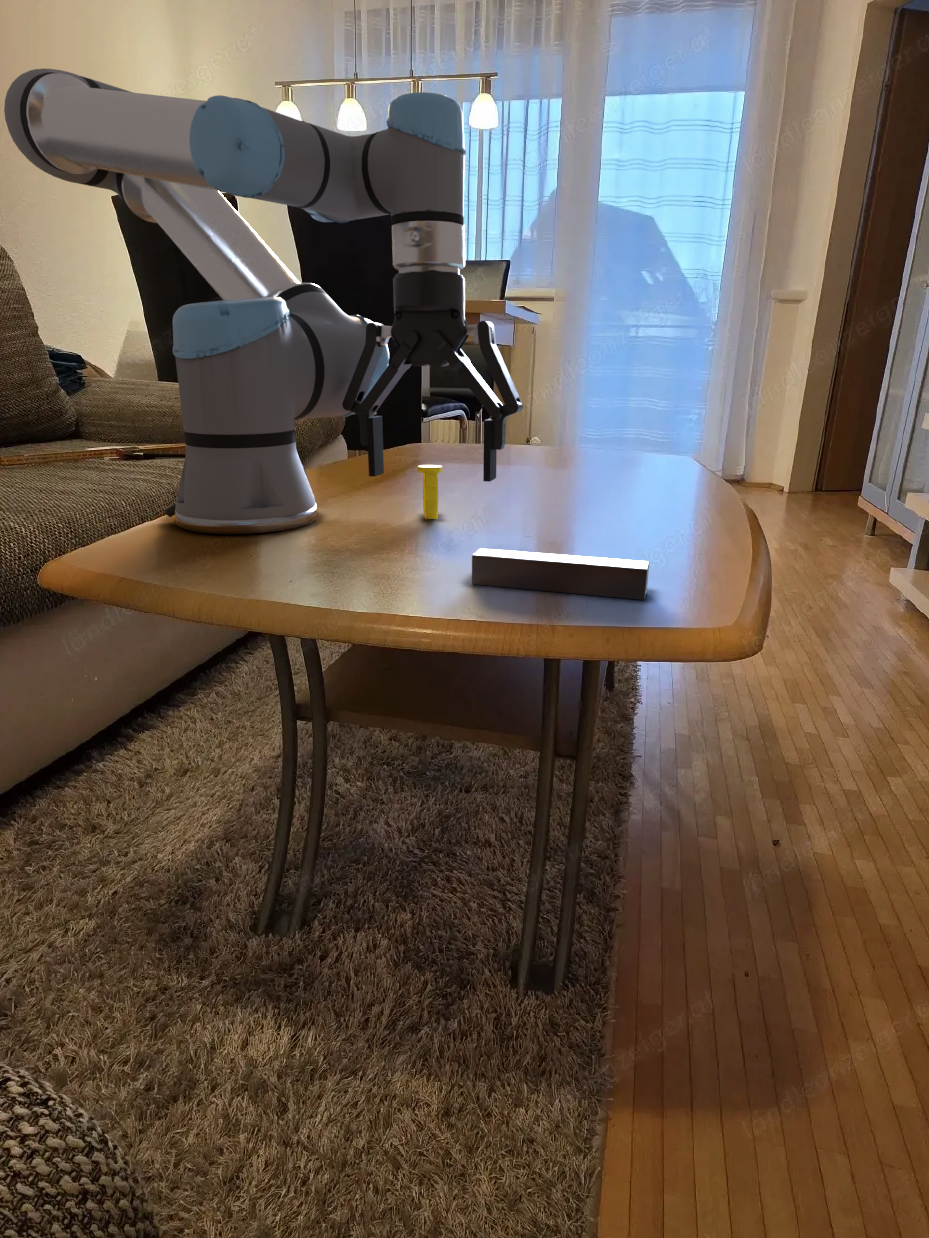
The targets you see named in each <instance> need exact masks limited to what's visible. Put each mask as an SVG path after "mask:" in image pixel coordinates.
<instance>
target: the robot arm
mask: <svg viewBox="0 0 929 1238" xmlns="http://www.w3.org/2000/svg"><path fill="white" fill-rule="evenodd" d="M3 105H4V106H3V107H4V108H3V111H4V119H5V124H6V127H7V130H8V133H9V135H10V137H11V139H12V142H13V143H14V144H15V146H16V147H17V149H18V151H20V152H21V154H22V155H23V156H24V157H25V158H26V159H27V160H28V161H29V162H30V163H31V164H32V165H34V166H35V167H36V168H37V169H39V170H41V171H43V172H44V173H46V174H48V175H50V176H52V177H55V178H56V179H59V180H62V181H65V182H69V183H73V184H78V185H83V186H89V187H93V188H98V189H105V190H110V191H111V192H114V193H115V194H116V195H118V196H119V198H121V200H122V201H123V202H124V204H125V205H126V206H127V207H128V208H129V210H130V211H132V213H133V214H134V215H136V216H137V217H138V218H140V219H142V220H144V221H146V222H149V223H153V224H158V225H159V227H160V228H161V229H162V230H163V231H164V233H165V234H166V235H167V236H168V237H169V238H170V239H171V241H172V242H173V243H174V244H175V245H176V246H177V248H178V249H179V250H180V251H181V253H182V254H183V255H184V256H185V257H186V258H187V259H188V261H189V262H190V263H191V264H192V265H193V267H194V268H195V269H196V270H197V271H198V273H199V274H200V275H201V276H202V277H203V278H204V279H205V281H206V282H207V283H208V284H209V285H210V287H211V288H212V289H213V290H214V291H215V293H216V294H218V296H219V297H220V298H221V299H222V300H212V301H203V302H195V303H194V302H193V303H189V304H184V305H181V306H180V307H178V308H177V310H175V312H174V313H173V316H172V338H173V339H172V341H173V345H172V355H173V356H174V358H175V365H176V366H175V367H176V375H177V384H178V392H179V393H178V394H179V400H180V402H179V403H180V410H181V418H182V429H183V434H184V435H183V436H184V443H185V457H184V461H183V467H182V471H181V475H180V480H179V481H180V482H179V485H178V490H177V495H176V496H177V497H176V499H175V503H174V504H172V505H171V506H170V507H168V508H166V509H165V510H164V513H165V514H166V516H167V517H168V518H172V517H174V516H175V522H176V525H177V526H178V527H179V528H181V529H183V530H187V531H190V532H196V533H205V534H217V535H246V534H261V533H271V532H278V531H284V530H289V529H295V528H299V527H303V526H306V525H308V524H311V523H312V522H314V521H316V519H317V517H318V514H317V503H316V497H315V495H314V492H313V490H312V488H311V485H310V482H309V480H308V479H309V477H308V474H307V471H306V468H305V466H304V465H303V464H302V461H301V459H300V457H299V454H298V450H297V442H296V441H297V440H296V429H295V428H296V423H295V421H297V420H306V419H307V420H309V419H321V418H335V417H336V418H337V417H338V418H346V417H347V418H348V417H349V416H352V415H357V417H358V420H359V440H360V443H361V446H365V447H367V461H368V477H373V478H374V477H378V476H381V475H383V474H385V464H384V459H385V457H384V433H383V431H384V430H383V415H377V414H378V412H377V411H378V410H379V408H380V407H381V405H383V402H384V401H385V400H386V398H387V397H388V396H389V395H390V393H391V392H392V391H393V390H394V388H395V387H396V385H397V384H398V382H399V381H400V380H401V378H402V377H403V375H404V374H405V373H406V372H407V370H410V368H411V367H412V366H413V367H429V366H431V367H447V366H450V367H451V368H452V369H453V371H455V372H456V373H457V374H458V375H459V377H460V378H461V379H462V381H463V383H465V385H466V386H467V387H468V389H469V390H470V391H471V393H472V395H474V396H475V398H476V399H477V401H478V402H479V403H480V405H482V407H483V408H484V409H485V410H486V411H487V413H488V414H489V416H490V417H489V418H488V419H487V418H486V419H484V420H483V473H482V474H483V476H482V477H483V481H482V482H488V483H489V482H490V483H491V482H492V481H493V480H495V479H497V455H498V454H497V451H501V450H503V449H505V446H506V437H507V436H506V435H507V434H506V433H507V432H506V431H507V430H506V429H507V419H508V417H509V416H512V415H515V414H517V413H520V412H522V411H523V409H524V404H523V401H522V399H521V397H520V394H519V393H518V390H517V388H516V386H515V383H514V381H513V379H512V377H511V375H510V372H509V370H508V368H507V365H506V363H505V361H504V358H503V356H502V354H501V352H500V350H499V347H498V345H497V340H496V332H495V331H496V330H495V325H494V323H493V322H492V321H487V320H480V321H479V322H478V323H473V324H468V323H467V321H466V316H465V315H466V312H465V311H466V281H465V280H466V279H465V277H464V276H463V274H461V273H460V271H462V270H463V269H464V268H465V267H466V246H465V245H466V243H465V241H466V238H465V216H464V214H465V213H464V211H465V209H464V208H465V206H464V205H465V172H466V171H465V168H466V155H467V150H466V149H465V148H466V147H465V132H464V130H465V129H464V113H463V109H462V108H461V106H460V104H459V102H457V101H456V100H455V99H453V98H452V97H449V96H447V95H444V94H442V93H441V94H440V93H435V92H426V91H425V92H420V91H418V92H409V93H404V94H401V95H398V96H397V97H396V98H394V99H393V100H392V101H390V102H389V105H388V108H387V110H388V111H387V120H386V127H387V128H386V129H383V130H379V131H376V132H373V133H367V134H361V135H355V136H354V135H353V136H351V135H345V134H343V133H340V132H337V131H334V130H332V129H328V128H325V127H322V126H320V125H317V124H314V123H310V122H307V121H304V120H300V119H296V118H294V117H292V116H288V115H285V114H282V113H279V112H277V111H274V110H271V109H269V108H266V107H263V106H260V105H259V104H258V103H256V102H254V101H251V100H247V99H243V98H237V97H231V96H226V95H223V94H222V95H212V96H210V97H208V98H207V100H201V99H194V98H193V99H192V98H183V97H175V96H166V95H159V94H158V95H157V94H149V93H141V92H140V93H139V92H133V91H130V90H127V89H125V88H121V87H118V86H115V85H111V84H108V83H105V82H102V81H99V80H97V79H92V78H89V77H85V76H82V75H79V74H76V73H74V72H70V71H67V70H62V69H54V68H35V69H30V70H27V71H26V72H23V73H21V74H20V75H18V76H17V77H16V78H15V79H14V80H13V81H12V82H11V84H10V86H9V88H8V89H7V91H6V94H5V98H4V104H3ZM222 193H225V194H227V195H229V196H234V197H240V198H245V199H254V200H257V201H264V202H268V203H275V204H279V205H286V206H290V207H294V208H296V209H301V210H304V211H305V212H307V214H309V216H310V217H311V218H312V219H313V220H316V221H318V222H321V223H335V222H336V223H340V224H344V223H345V224H346V223H349V222H350V221H355V220H362V219H369V218H375V217H382V216H388V215H390V218H391V249H392V267H393V268H394V269H395V270H396V271H398V273H396V274H395V275H394V277H393V278H392V286H393V287H392V289H393V291H392V292H393V313H394V320H393V323H392V325H384V324H383V323H380V322H374V321H372V320H371V319H368V318H366V317H363V316H361V315H359V314H351V315H348V314H347V313H346V312H344V311H343V310H342V308H340V306H339V305H338V304H337V303H336V302H335V301H334V300H333V298H331V297H330V296H329V294H328V293H327V292H326V291H325V290H324V289H323V288H322V287H321V286H320V285H318V284H315V283H312V282H300V281H299V279H297V277H296V276H295V275H294V274H293V273H292V272H291V271H290V269H289V268H288V267H287V266H286V265H285V264H284V262H282V260H280V259H279V257H278V256H277V255H276V254H275V253H274V251H272V249H271V248H270V247H269V246H268V245H267V243H265V241H264V240H263V239H262V238H261V237H260V236H259V235H258V233H257V232H256V231H255V230H254V229H253V228H252V226H250V224H249V223H248V222H247V221H246V220H245V219H244V218H243V216H242V215H241V214H240V213H239V212H238V210H236V209H235V208H234V206H232V204H231V203H230V202H229V201H228V200H227V198H226V197H224V195H223V194H222ZM469 336H470V337H471V338H472V341H473V343H474V344H475V345H478V346H479V348H480V351H481V354H482V357H483V359H484V361H485V363H486V365H487V367H488V370H489V372H490V374H491V376H492V379H493V381H494V383H495V385H496V387H497V390H498V392H499V394H500V397H501V399H502V401H503V403H504V404H503V403H502V402H501V401H500V399H499V398H498V396H497V395H496V394H495V393H494V392H493V390H492V389H491V388H490V386H489V385H488V383H486V381H485V380H484V379H483V377H482V376H481V374H480V373H479V372H478V371H477V370H476V368H475V367H474V366H473V364H472V363H471V360H470V358H469V357H468V356H467V355H466V353H465V352H464V351H463V350H462V348H463V346H464V345H465V343H466V341H467V340H468V339H469ZM390 338H392V340H393V342H394V343H395V345H396V346H397V347H398V349H397V350H396V352H395V353H394V354H393V356H392V357H391V358H390V351H389V346H388V343H389V340H390Z"/></svg>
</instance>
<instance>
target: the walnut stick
mask: <svg viewBox="0 0 929 1238" xmlns="http://www.w3.org/2000/svg"><path fill="white" fill-rule="evenodd" d="M649 571H650V561H648V560H634V559H624V558H623V559H622V558H611V557H609V558H608V557H599V556H598V557H597V556H583V555H573V554H572V555H571V554H559V553H557V554H556V553H548V552H547V553H546V552H535V551H534V552H533V551H522V550H521V551H520V550H509V549H497V548H496V549H495V548H483V547H482V548H481V547H479V549H478V550H476V551H475V552H474V553H473V554H472V555H471V584H472V585H477V586H478V585H479V586H489V587H498V588H499V587H500V588H508V589H509V588H510V589H519V590H531V591H543V592H552V593H553V592H555V593H566V594H574V595H575V594H576V595H587V596H596V597H597V596H598V597H606V598H607V597H608V598H618V599H628V600H641V601H645V599H646V596H647V593H648V592H647V591H648V584H649V583H648V582H649V573H650V572H649Z"/></svg>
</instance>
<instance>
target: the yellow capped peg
mask: <svg viewBox="0 0 929 1238" xmlns="http://www.w3.org/2000/svg"><path fill="white" fill-rule="evenodd" d="M417 472H418V473H419V474H422V506H423V507H422V508H423V517H424V519H425V520H438V516H439V515H438V514H439V481H438V474H440V473H443V466H442V465H439V464H421V465H417Z"/></svg>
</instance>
